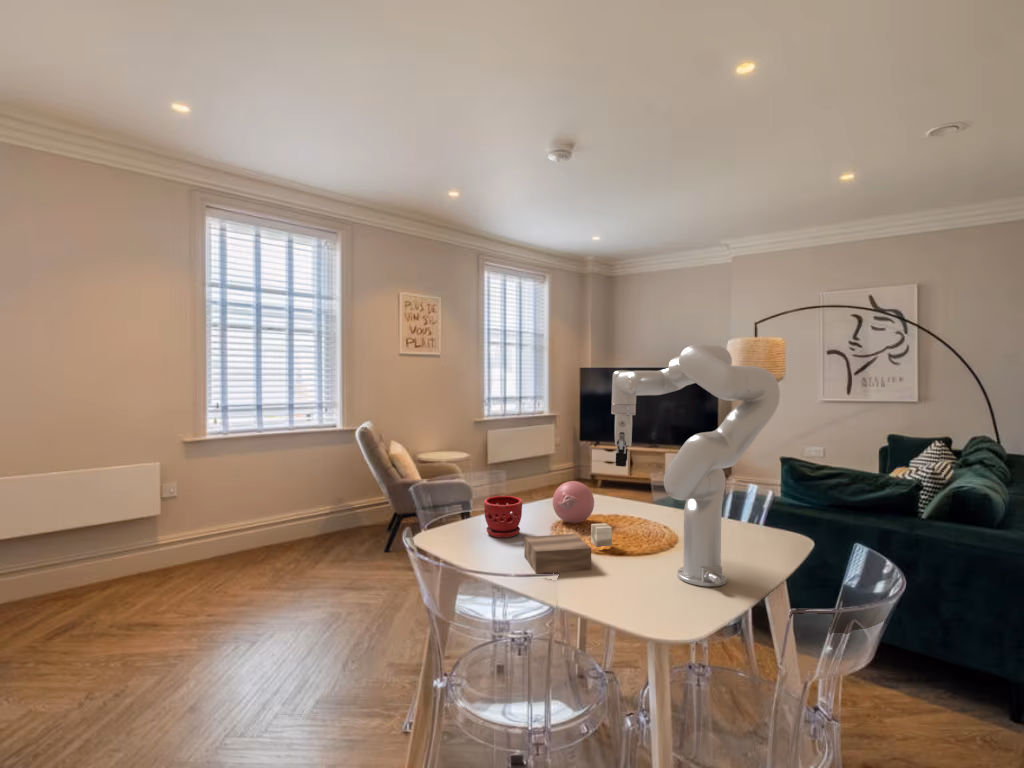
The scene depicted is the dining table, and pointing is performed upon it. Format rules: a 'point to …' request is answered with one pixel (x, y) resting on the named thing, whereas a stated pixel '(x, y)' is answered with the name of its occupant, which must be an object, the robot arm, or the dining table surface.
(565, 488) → the balloon
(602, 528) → the birch block
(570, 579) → the dining table surface
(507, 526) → the plant pot
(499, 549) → the dining table surface
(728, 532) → the dining table surface
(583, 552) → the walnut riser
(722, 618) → the dining table surface
